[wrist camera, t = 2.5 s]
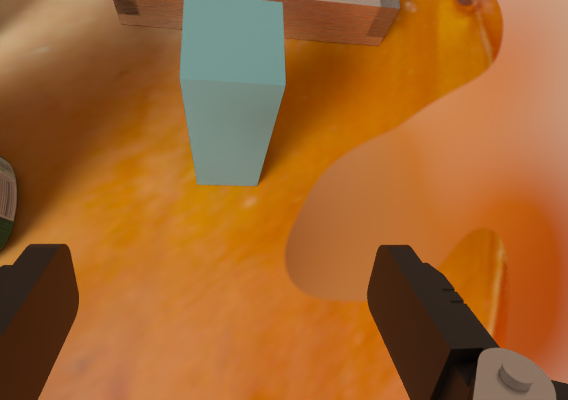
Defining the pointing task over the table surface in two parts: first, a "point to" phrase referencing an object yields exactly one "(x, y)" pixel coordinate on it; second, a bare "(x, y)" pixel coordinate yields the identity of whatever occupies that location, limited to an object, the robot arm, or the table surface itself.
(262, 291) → the table surface
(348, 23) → the tray
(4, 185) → the coffee jar
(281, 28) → the sage green tall box
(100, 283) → the table surface
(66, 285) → the robot arm
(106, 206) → the table surface
